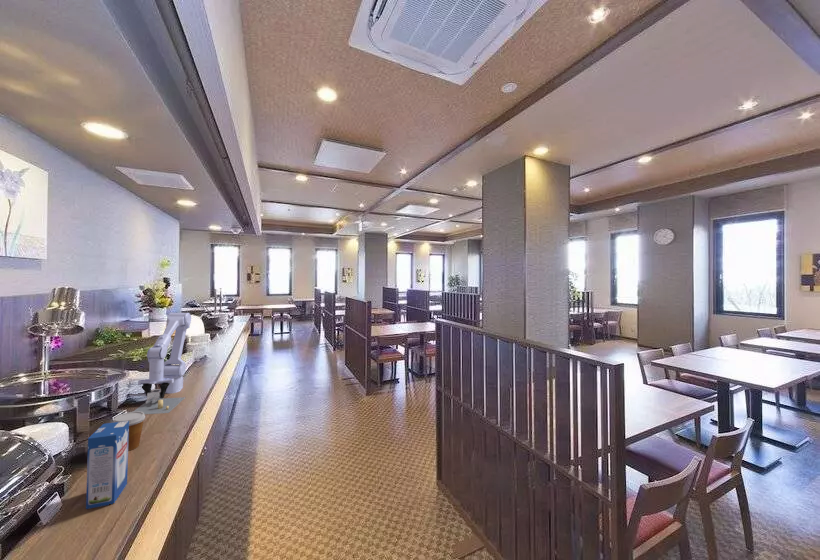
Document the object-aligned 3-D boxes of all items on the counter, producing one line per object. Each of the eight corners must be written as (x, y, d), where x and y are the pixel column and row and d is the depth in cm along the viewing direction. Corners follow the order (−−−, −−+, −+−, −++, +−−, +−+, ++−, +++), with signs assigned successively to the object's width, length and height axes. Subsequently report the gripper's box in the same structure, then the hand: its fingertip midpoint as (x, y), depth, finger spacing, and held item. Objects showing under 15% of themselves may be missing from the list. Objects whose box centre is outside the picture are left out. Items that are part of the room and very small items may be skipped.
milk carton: (101, 488, 102) (103, 423, 101) (127, 483, 104) (129, 420, 104) (85, 509, 92) (87, 438, 92) (114, 504, 95) (116, 434, 95)
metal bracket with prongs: (152, 397, 167) (152, 389, 167) (164, 396, 168) (164, 388, 168) (143, 403, 159) (144, 395, 159) (156, 402, 160) (156, 394, 160)
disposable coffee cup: (129, 454, 120) (130, 422, 120) (104, 453, 120) (105, 420, 120) (150, 441, 129) (151, 411, 129) (127, 440, 130) (128, 410, 130)
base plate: (149, 401, 168) (150, 391, 168) (185, 399, 173) (185, 390, 173) (127, 417, 149) (128, 406, 149) (168, 415, 153) (169, 404, 153)
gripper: (135, 374, 159) (134, 402, 159) (169, 372, 163) (168, 400, 163) (142, 369, 166) (141, 396, 166) (175, 368, 169) (175, 395, 170)
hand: (155, 398), depth 165 cm, fingers closed on metal bracket with prongs, 5 cm apart
